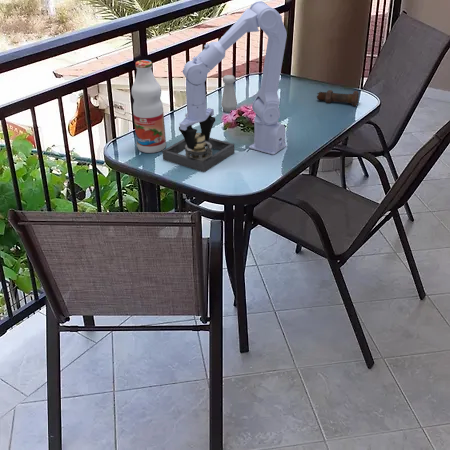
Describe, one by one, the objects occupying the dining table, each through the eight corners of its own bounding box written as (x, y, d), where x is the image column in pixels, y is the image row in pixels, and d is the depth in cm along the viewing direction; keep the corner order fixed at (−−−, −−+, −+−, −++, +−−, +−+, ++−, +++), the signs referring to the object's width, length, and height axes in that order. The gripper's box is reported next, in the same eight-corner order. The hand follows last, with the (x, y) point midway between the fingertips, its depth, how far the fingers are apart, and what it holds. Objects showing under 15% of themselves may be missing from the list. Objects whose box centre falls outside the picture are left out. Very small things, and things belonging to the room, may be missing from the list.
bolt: (317, 104, 226) (357, 108, 221) (315, 102, 221) (355, 105, 216) (320, 89, 226) (359, 92, 220) (317, 86, 221) (357, 89, 216)
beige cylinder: (208, 155, 186) (208, 134, 182) (200, 160, 183) (199, 140, 179) (197, 151, 188) (196, 131, 185) (188, 157, 185) (187, 136, 181)
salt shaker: (235, 113, 215) (235, 78, 208) (220, 112, 216) (219, 78, 209) (238, 107, 220) (238, 73, 213) (223, 107, 221) (222, 73, 214)
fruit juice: (171, 143, 194) (164, 59, 179) (158, 155, 187) (150, 68, 172) (145, 139, 197) (137, 56, 182) (132, 151, 190) (121, 65, 175)
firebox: (234, 152, 187) (234, 142, 185) (204, 172, 176) (203, 162, 174) (194, 141, 195) (193, 132, 193) (163, 159, 184) (162, 149, 182)
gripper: (200, 92, 183) (202, 133, 190) (170, 107, 173) (173, 149, 180) (218, 96, 179) (219, 137, 187) (189, 111, 170) (191, 154, 177)
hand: (198, 143), depth 183 cm, fingers open, 7 cm apart
